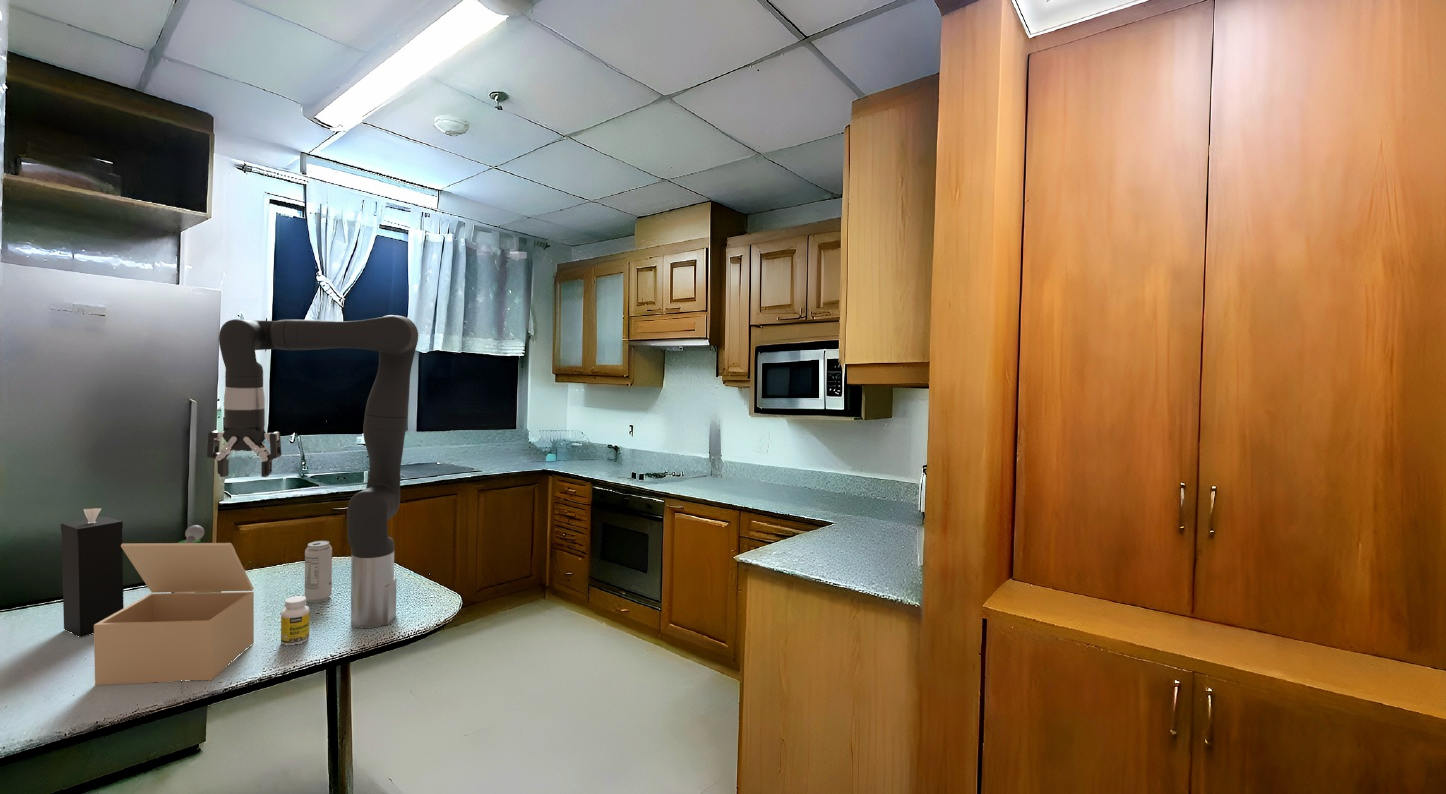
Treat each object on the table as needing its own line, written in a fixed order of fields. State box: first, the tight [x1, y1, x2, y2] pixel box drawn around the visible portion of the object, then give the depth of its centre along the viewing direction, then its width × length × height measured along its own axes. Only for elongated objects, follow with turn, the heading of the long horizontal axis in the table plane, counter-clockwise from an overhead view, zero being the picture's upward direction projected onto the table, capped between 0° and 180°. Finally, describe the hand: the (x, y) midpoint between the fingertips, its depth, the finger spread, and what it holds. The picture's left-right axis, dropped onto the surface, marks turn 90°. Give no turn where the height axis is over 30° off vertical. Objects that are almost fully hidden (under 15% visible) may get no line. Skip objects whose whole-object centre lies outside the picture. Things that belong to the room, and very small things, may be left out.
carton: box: [93, 591, 255, 686], centre depth 135 cm, size 20×16×12 cm
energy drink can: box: [304, 540, 333, 604], centre depth 171 cm, size 6×6×15 cm
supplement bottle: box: [280, 595, 311, 646], centre depth 147 cm, size 5×5×10 cm
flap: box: [121, 524, 254, 594], centre depth 140 cm, size 20×16×7 cm
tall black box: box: [60, 507, 125, 638], centre depth 148 cm, size 8×8×28 cm
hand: (244, 476), depth 150 cm, fingers open, 8 cm apart
